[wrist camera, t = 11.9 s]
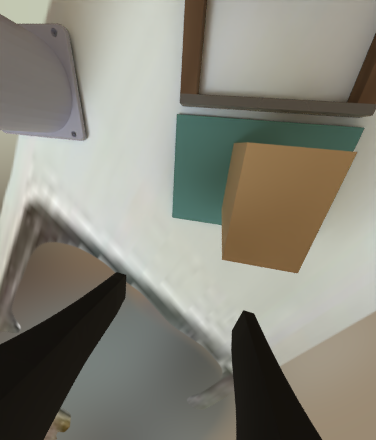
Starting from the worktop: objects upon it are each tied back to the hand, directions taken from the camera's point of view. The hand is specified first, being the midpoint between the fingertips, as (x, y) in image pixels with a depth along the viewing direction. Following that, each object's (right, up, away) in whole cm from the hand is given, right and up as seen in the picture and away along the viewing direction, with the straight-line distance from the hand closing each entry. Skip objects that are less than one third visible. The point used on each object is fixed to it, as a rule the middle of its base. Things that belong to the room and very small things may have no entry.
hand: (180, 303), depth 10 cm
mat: (+6, +9, +5) cm, 12 cm away
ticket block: (+6, +9, +5) cm, 12 cm away
